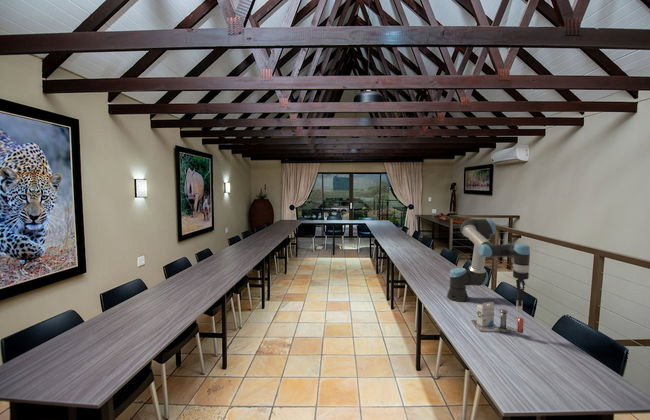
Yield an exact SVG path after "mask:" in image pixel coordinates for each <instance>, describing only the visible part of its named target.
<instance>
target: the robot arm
mask: <svg viewBox="0 0 650 420" xmlns="http://www.w3.org/2000/svg"><path fill="white" fill-rule="evenodd" d="M496 231H497V227H496V225H495V222H494V220H492V219H490V218H469V219H466V220H464V221H463V222H462V223H461V225H460V232H461V234H462V236H463V237H466V238H468V239H469V241H471V242H472V243H473V245H474V246H473V252H472V253H473V254H472V260H471V265H470V266H468V270H467V269H466V268H464V267H454V268H452V269H450V271H449V288H448V291H447V293H446V297H447V299H449V300H450V301H453V302H461V303H464V302H467V301H469V294H468V292H467V286H478V287H479V286H485V285H487V283H488V281H489V273H488V272H487V269H485V264H486V263H485V262H486V258H512V259H513V264H511V265H512V269H513V271H512V277H513V278H514V279H515V282H516V298H515V301H516V307H515V309H516V312H523V305H524V304H523V303H524V302H523V301H524V299H525V298H524V294H525V285H526V282H525V281H526V280H528V279H530V274H529V272H530V261H531V259H530V258H531V257H530V256H531V255H530V254H531V249H530V248H531V247H530V245H528V244H525V243H515V244H514V243H509V242H506V243H503V244H493V243H491V242H490V240H491V239H492V236H494V235H495V234H496Z"/></svg>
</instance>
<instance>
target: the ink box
mask: <svg viewBox="0 0 650 420" xmlns="http://www.w3.org/2000/svg"><path fill="white" fill-rule="evenodd" d="M494 305H495V303H494V301H491V302H482V304H477V305H476V320H477V324H479V325H480V326H482V327H483V326H490V325H494V324H495V323H494V320H495V319H494V317H495V306H494Z"/></svg>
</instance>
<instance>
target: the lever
mask: <svg viewBox="0 0 650 420" xmlns="http://www.w3.org/2000/svg"><path fill="white" fill-rule="evenodd" d="M524 321H525V320H524V318H522V317H517V328H515V327H512V326H507V325H506V328H507V329H508V331H509V330H510V331H514V332H516V333H517V334H518V333H519V334H524V323H525V322H524Z"/></svg>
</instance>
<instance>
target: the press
mask: <svg viewBox="0 0 650 420" xmlns="http://www.w3.org/2000/svg"><path fill="white" fill-rule="evenodd" d="M499 312H500V322H499V323H500V325H499V326H497V325H496V324H495V323H494V325H490V326H483V327H482V326H480V325H479V324H477V319H472V320H470V323H471V324H472V325H473V326H474V327H475V329H477V330H478V332H486V333H487V332H488V333H489V332H494V333H496V332H499V333H502V334H508V333H509V329H507V315H508V313H509V312H508V310H507V309H504V308H503V309H499Z"/></svg>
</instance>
